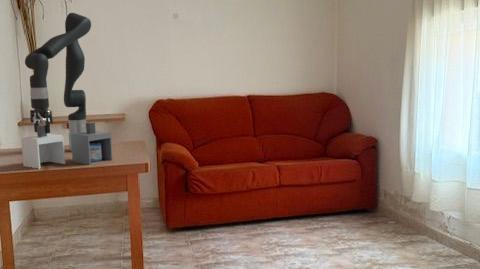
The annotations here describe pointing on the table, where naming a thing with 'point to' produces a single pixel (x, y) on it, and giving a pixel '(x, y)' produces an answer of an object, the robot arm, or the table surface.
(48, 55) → the robot arm
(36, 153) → the grey hood
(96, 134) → the box
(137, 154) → the table surface
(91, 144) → the medicine box
